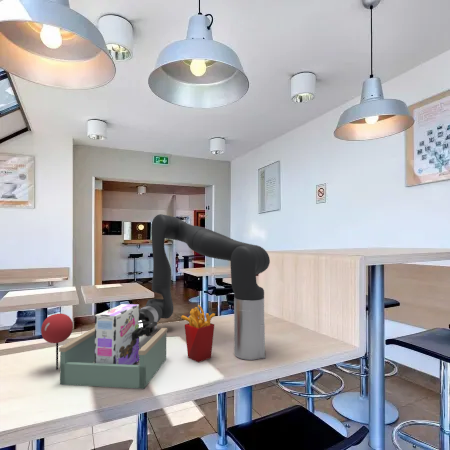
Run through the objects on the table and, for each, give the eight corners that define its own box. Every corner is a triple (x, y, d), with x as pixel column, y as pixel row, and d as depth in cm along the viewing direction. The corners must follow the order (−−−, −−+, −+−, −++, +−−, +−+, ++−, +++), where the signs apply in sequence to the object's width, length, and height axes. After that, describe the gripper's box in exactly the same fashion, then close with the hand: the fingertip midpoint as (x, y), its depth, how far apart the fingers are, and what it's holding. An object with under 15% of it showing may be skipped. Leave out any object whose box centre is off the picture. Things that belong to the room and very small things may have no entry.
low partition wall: (167, 358, 93) (167, 328, 93) (144, 389, 74) (144, 350, 75) (97, 355, 95) (97, 325, 95) (58, 384, 77) (59, 347, 77)
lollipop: (42, 366, 88) (43, 312, 88) (72, 361, 91) (73, 309, 91) (38, 377, 81) (39, 318, 81) (71, 372, 84) (72, 315, 84)
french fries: (215, 357, 93) (215, 307, 94) (193, 365, 88) (193, 311, 88) (196, 350, 100) (196, 302, 100) (175, 357, 94) (175, 306, 94)
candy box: (114, 382, 78) (114, 315, 78) (93, 380, 79) (93, 314, 80) (140, 360, 91) (140, 303, 92) (121, 359, 93) (121, 302, 93)
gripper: (123, 308, 105) (97, 321, 88) (165, 308, 103) (147, 323, 86) (122, 330, 104) (97, 348, 88) (164, 332, 103) (146, 350, 86)
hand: (121, 336), depth 87 cm, fingers closed on candy box, 6 cm apart
